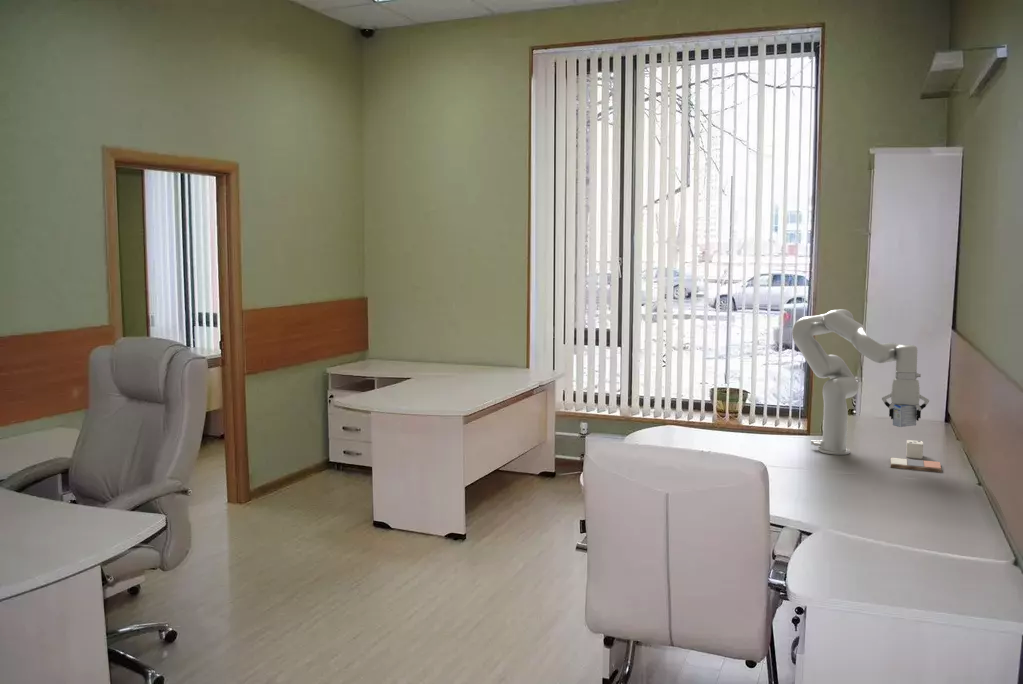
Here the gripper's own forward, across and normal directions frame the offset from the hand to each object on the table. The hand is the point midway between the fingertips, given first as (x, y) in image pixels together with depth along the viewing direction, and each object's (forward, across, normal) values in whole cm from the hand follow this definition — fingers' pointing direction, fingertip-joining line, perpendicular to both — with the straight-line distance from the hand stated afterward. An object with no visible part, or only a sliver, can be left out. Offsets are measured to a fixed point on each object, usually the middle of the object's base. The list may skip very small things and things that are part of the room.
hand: (904, 419), depth 341 cm
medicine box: (+3, 0, 0) cm, 3 cm away
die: (+19, -4, -18) cm, 26 cm away
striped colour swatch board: (+19, -4, 0) cm, 19 cm away
